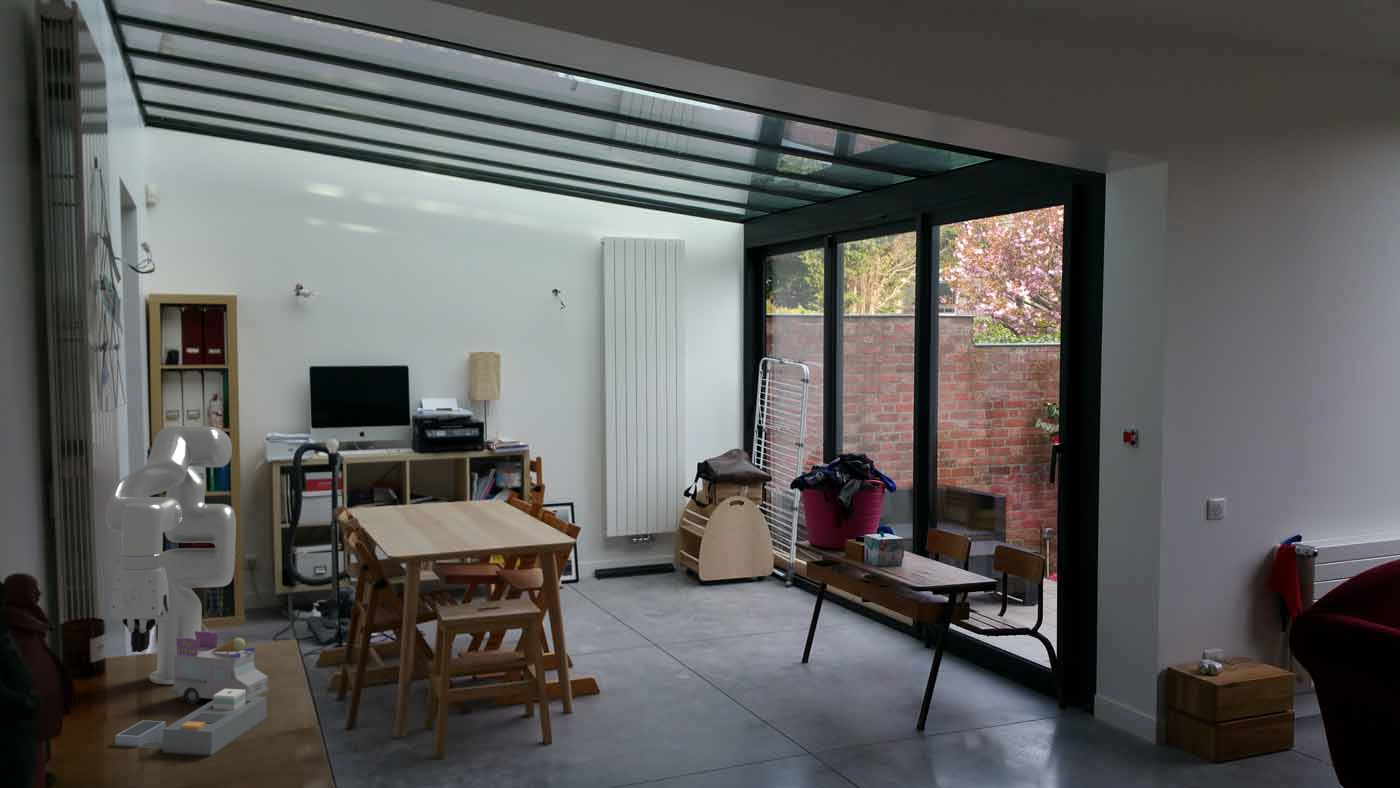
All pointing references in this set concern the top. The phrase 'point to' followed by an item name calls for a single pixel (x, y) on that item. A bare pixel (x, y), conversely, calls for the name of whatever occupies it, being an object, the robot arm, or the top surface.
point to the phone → (140, 733)
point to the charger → (229, 699)
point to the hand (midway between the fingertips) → (140, 650)
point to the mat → (150, 743)
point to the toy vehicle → (215, 668)
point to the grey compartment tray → (212, 727)
